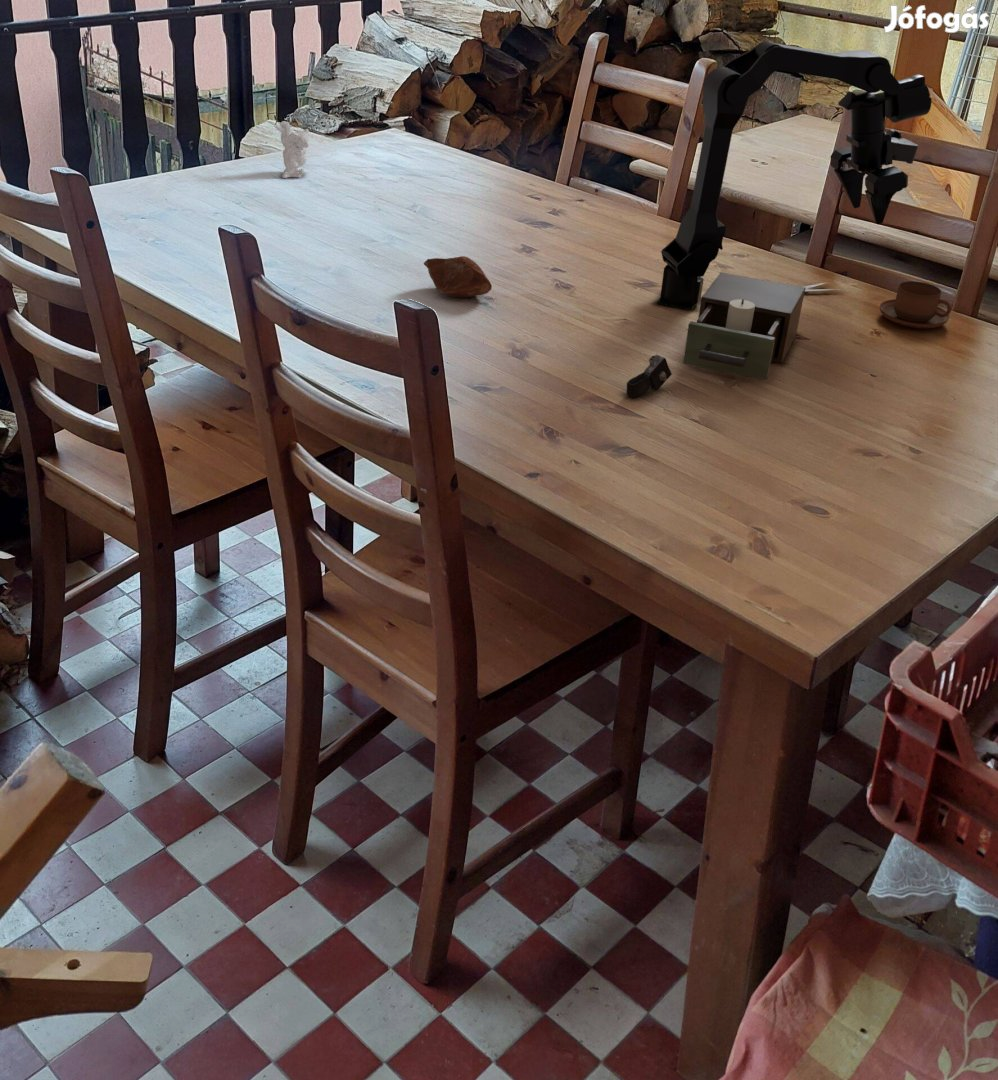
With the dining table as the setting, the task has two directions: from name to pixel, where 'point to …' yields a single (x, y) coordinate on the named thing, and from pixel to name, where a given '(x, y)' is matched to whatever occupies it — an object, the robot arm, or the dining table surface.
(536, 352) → the dining table surface
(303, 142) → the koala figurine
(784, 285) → the cabinet
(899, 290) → the cup and saucer
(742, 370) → the drawer
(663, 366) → the padlock
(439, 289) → the brown rock
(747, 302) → the candle
